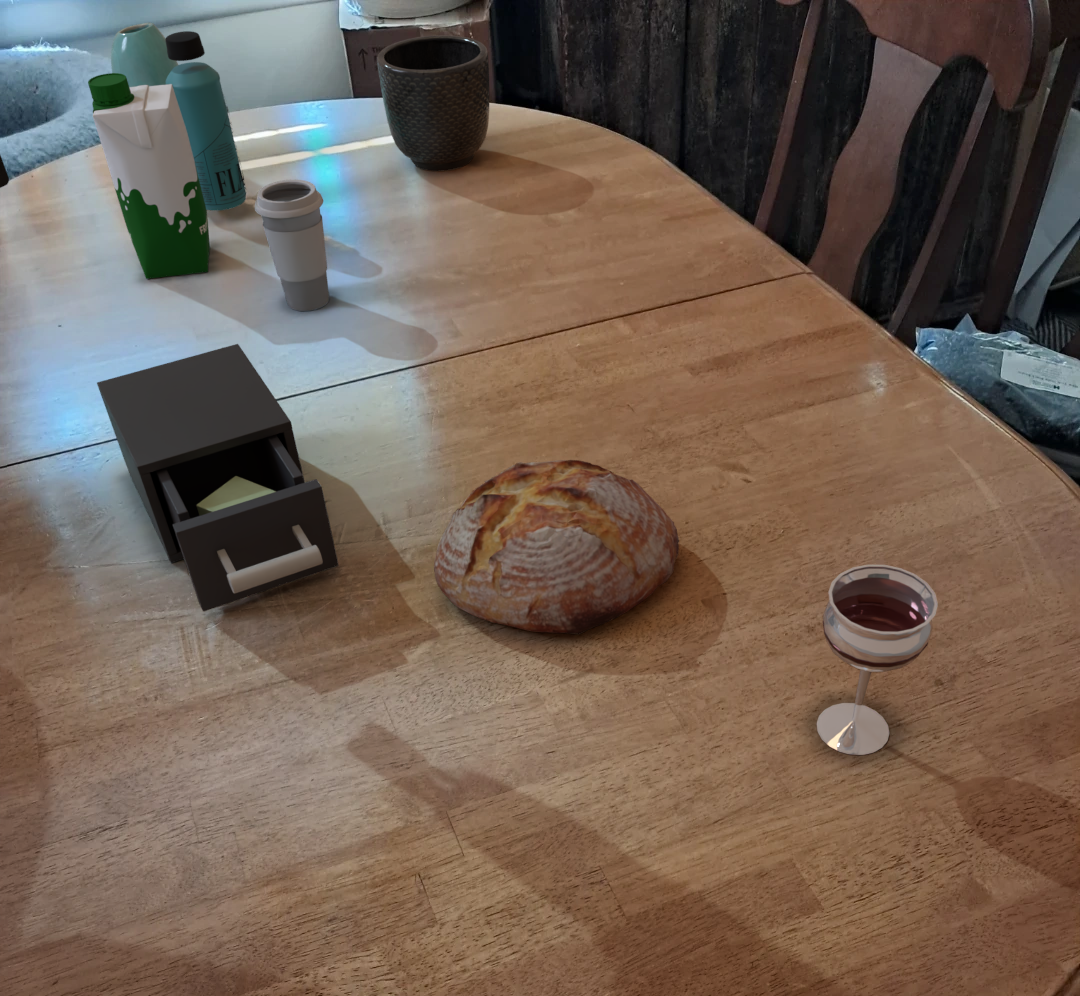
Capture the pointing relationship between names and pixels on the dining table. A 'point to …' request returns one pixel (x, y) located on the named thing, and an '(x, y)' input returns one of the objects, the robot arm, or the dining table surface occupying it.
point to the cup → (296, 241)
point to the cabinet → (189, 420)
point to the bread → (555, 547)
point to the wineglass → (872, 644)
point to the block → (232, 495)
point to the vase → (141, 55)
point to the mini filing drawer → (247, 522)
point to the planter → (436, 98)
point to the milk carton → (152, 174)
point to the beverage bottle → (206, 123)
